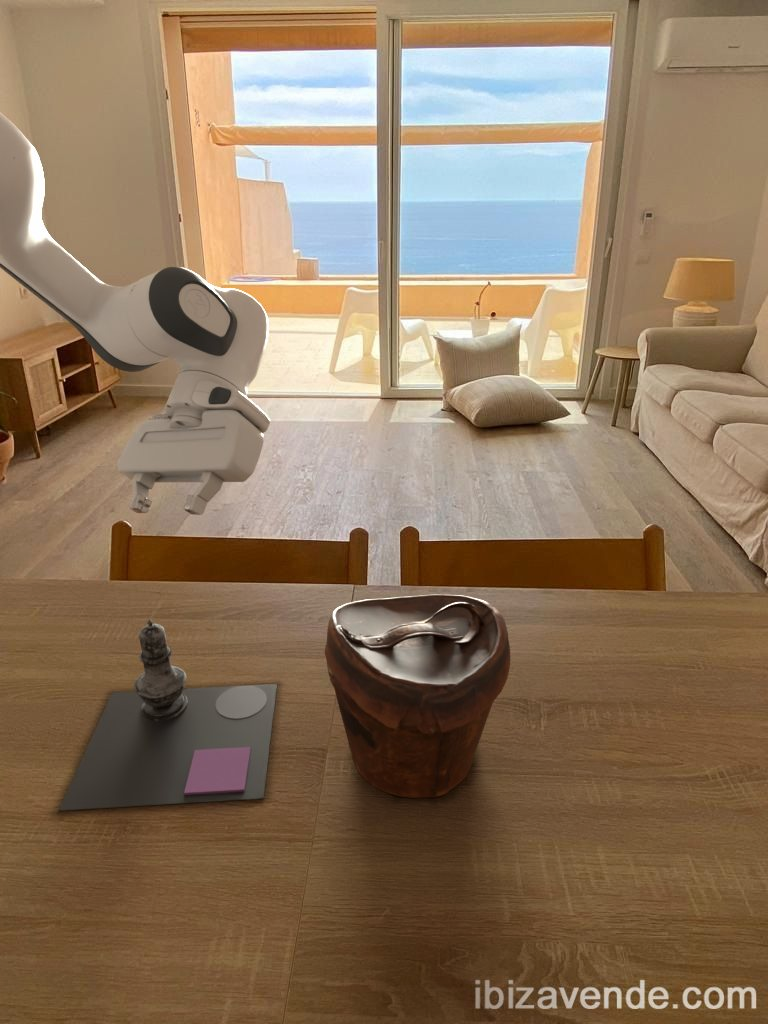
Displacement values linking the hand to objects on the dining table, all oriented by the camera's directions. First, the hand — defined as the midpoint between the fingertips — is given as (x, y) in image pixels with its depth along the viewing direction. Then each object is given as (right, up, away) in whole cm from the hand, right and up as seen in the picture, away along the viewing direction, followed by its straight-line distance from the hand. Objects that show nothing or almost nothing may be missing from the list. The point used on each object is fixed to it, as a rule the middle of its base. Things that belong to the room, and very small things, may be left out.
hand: (164, 512), depth 81 cm
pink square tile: (+8, -27, -8) cm, 30 cm away
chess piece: (0, -23, +2) cm, 23 cm away
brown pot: (+29, -26, -6) cm, 40 cm away
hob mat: (+3, -25, -4) cm, 26 cm away
